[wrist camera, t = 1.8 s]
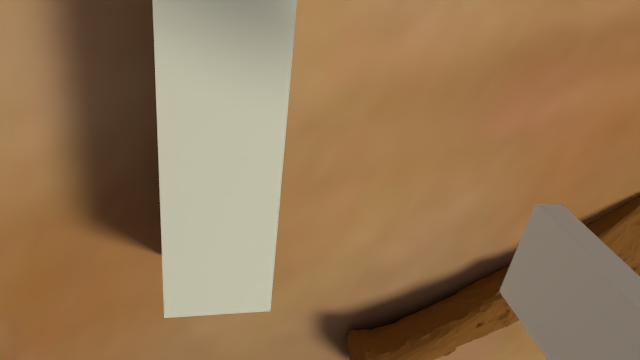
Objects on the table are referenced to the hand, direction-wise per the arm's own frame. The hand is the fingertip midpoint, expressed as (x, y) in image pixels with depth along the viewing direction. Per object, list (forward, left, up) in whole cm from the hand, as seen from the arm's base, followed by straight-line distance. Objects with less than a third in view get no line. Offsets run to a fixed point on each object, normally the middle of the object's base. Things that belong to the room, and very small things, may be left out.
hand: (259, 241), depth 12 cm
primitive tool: (+16, -9, -11) cm, 21 cm away
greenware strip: (0, 0, -10) cm, 10 cm away
